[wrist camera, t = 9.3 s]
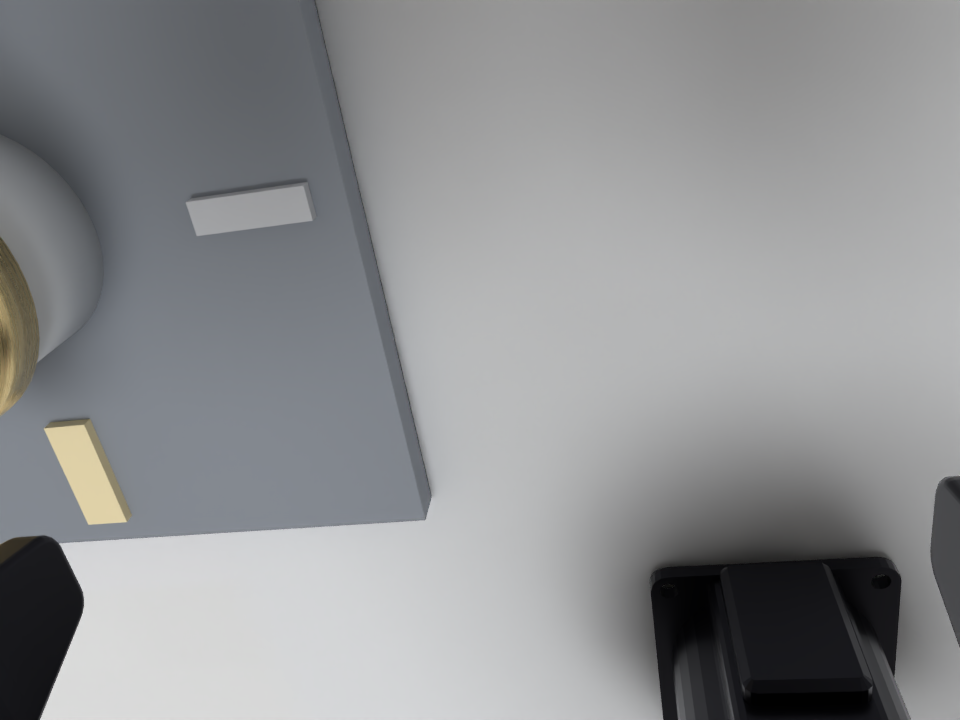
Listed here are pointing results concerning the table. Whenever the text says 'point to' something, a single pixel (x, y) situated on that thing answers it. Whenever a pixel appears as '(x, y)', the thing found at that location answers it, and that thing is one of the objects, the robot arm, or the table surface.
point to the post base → (192, 279)
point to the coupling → (15, 331)
